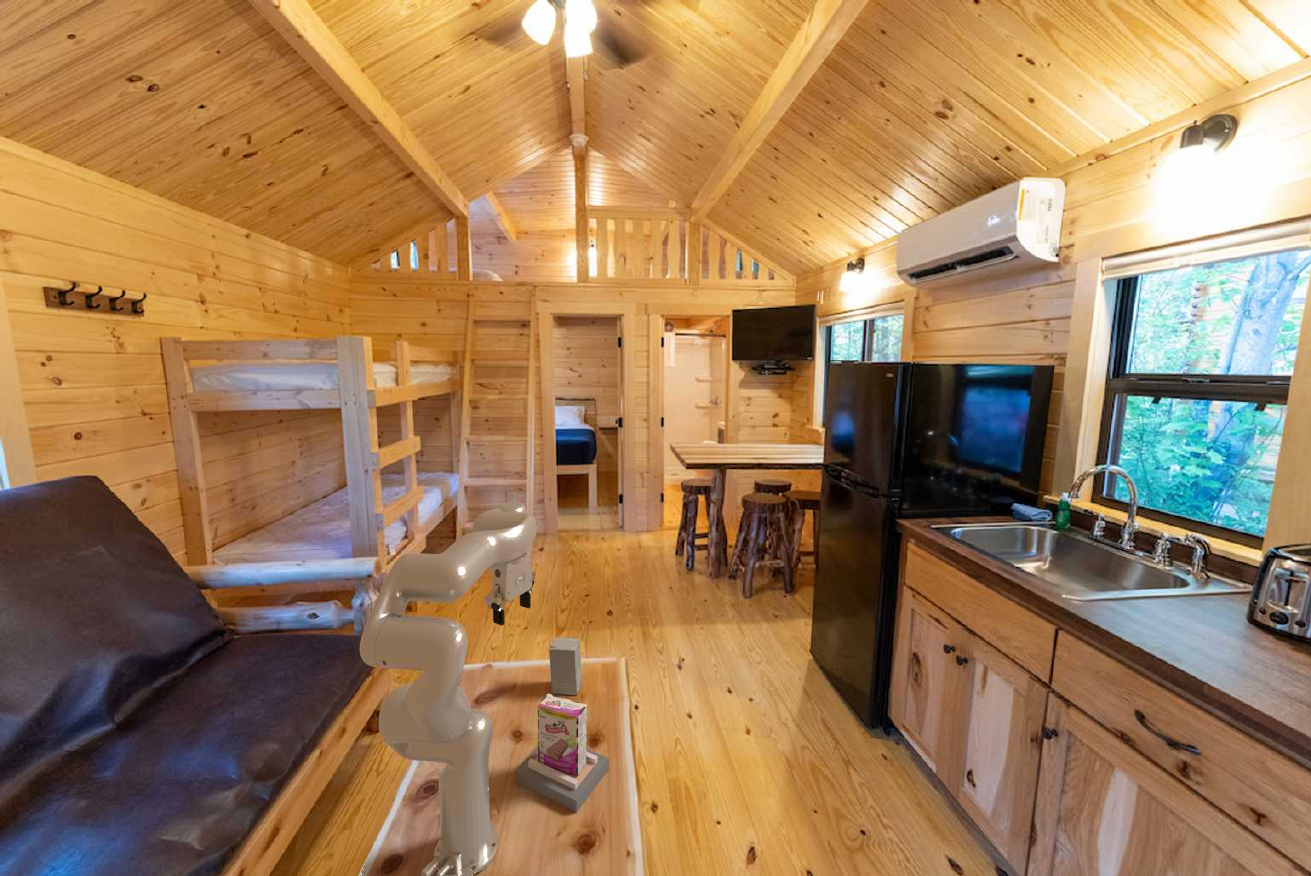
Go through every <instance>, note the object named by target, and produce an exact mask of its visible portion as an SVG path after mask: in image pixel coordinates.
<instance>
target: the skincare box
mask: <svg viewBox="0 0 1311 876" xmlns="http://www.w3.org/2000/svg"><path fill="white" fill-rule="evenodd" d="M580 640H581V638H576V637H575V638H572V637H555V638H554V639H553V641H552V643H551V645H550V647H549V648H548V651H549V665H550V666H549V667H550V684H551V686H550V687H551V695H571V696H577V695H578V693H579V691H580V687H581V685H582V682H583V681H582V680H583V677H582V659H581V657H582V656H581V655H582V654H581V641H580Z"/></svg>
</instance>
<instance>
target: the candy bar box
mask: <svg viewBox="0 0 1311 876" xmlns="http://www.w3.org/2000/svg"><path fill="white" fill-rule="evenodd" d="M587 722H588V704H586V703H582V702H578V701H576V700H572V699H567V698H565V697H561V696H557V695H556V694H552V693H551V694H550V693H547V694H546V695H545V697H544V698H543V699H541V701H540V702H539V703H538V705H537V748H538V762H540V763H542V764H544V765H546V766H548V767H551V768H553V769H555V770H558V771H561V772H565V773H568V774H571V775H574V776H577V777H578V776H579V774H580V772H581V770H582V769H583V768H584V766H585V764H586V761H587V749H588V748H587V744H588V743H587V742H588V741H587V740H588V738H587V737H588V736H587V734H588V731H587V730H588V727H587V726H588V723H587Z"/></svg>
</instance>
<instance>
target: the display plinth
mask: <svg viewBox="0 0 1311 876" xmlns="http://www.w3.org/2000/svg"><path fill="white" fill-rule="evenodd" d="M609 769H610V758H609V757H607V756H605V755H603V754H600V753H598V752H596V751H593V750H591V749H589V748H587V761H586V764H585V766H584V768H583V769H582V770H581V772H580V774H579V776H578V777H577V776H574V775H571V774H568V773H565V772H561V771H558V770H555V769H553V768H551V767H548V766H546V765H544V764H542V763H540V762H538V747H537V748H536V749H534V751H532V753H531V754H530V755H528V757H527V758H525V760H524V761H523V762H522V763H521V764H520V765H519V766H518V767H517V768H516V769H515V771H514V779H515V780H514V782H515V783H517V784H519V785H521V786H523V787H525V788H527V789H528V790H530V791H532V792H534V793H537V794H539V795H541V796H543V797H545V798H547V799H549V800H550V801H553V802H554V803H556V804H558V805H561V806H563V807H564V808H567V809H568V810H571V811H572V812H575V813H578V812H579V810H580V809H581V808H582V806H583V805H584V803H585V802H586V801H587V799H588V798H589V796H590V795H591V794H592V793H593V792H594V790H595V788H596V787H597V786H598V785H599V783H600V782H601V781H602V779H603V778H604V776H605V775H606V773H607V772H608V771H609Z"/></svg>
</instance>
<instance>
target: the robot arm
mask: <svg viewBox="0 0 1311 876" xmlns="http://www.w3.org/2000/svg"><path fill="white" fill-rule="evenodd" d="M471 531H472V532H469V533H466V534H463V535H462V536H460V537H459V538H458V539H456V541H454V543H452V544H451V545H450V546H448V548H447V549H445V550H444V551H442V552H441V553H437V554H436V553H421V552H420V553H419V552H417V553H416V552H411V553H410V552H407V553H404V554H403V555H401V556H399V557H398V559H397V560H396V561H395V562H394V563H393V565H392V567H391V568H390V569H389V571H388V572H387V575H386V577H385V579H384V581H383V583H382V585H381V587H380V590H379V592H378V595H377V597H376V600H375V602H374V605H373V607H372V610H371V611H370V614H369V617H368V619H367V621H366V624H365V625H364V629H363V631H362V635H361V638H360V642H359V643H360V644H359V654H360V658H361V660H362V662H364V663H365V664H366V665H368V666H369V667H374V668H378V669H390V670H392V669H393V670H409V671H423V672H422V673H421V674H419V676H418V677H417V678H416V679H415V680H414V681H413V682H412V683H411V684H410V683H409V684H401V685H399V686H398V687H396V688H394V689H393V690H391V692H390V693H389V694H388V695H387V696H386V697H385V698H384V701H383V702H382V705H381V707H380V710H379V713H378V732H379V735H380V737H381V739H382V741H383V742H384V743H386V745H387V746H388V747H390V749H391V750H393V751H394V752H395V753H396V754H398V755H399V756H400V757H401V758H403V759H406V760H410V761H417V762H430V763H439V764H446V765H445V767H444V769H443V770H442V772H441V773H440V777H439V779H438V799H439V802H438V803H439V805H438V806H439V820H440V823H439V825H440V838H439V840H438V841H437V843H436V846H435V848H434V851H433V859H432V860H431V861H430V862H429V863H427V865H426V866H425V867H424V868H423V869H422V870H421V872H420V876H433V875H434V874H435V876H471V875H473V874H476V873H477V872H479V871H481V870H482V871H483V870H485V868H487V867H488V866H489V865H490V863H491V862H492V861H493V859H494V857H495V855H496V854H497V851H498V848H499V833H498V831H497V828H496V827H495V825H493V823H491V819H490V818H491V817H490V816H491V815H490V814H491V813H490V810H491V809H490V783H489V781H490V776H489V775H490V772H489V757H490V747H491V741H492V735H493V721H492V718H491V716H490V715H489V714H488V713H487V712H485V711H483V710H481V709H478V708H472V706H471V703H470V701H469V699H468V697H467V695H466V694H465V693H464V691H463V689H462V688H461V687H460V685H459V683H460V681H461V678H462V674H463V670H464V666H465V663H466V657H467V651H468V644H469V638H468V633H467V631H466V629H465V627H464V626H463V625H462V624H461V623H460V622H458V621H456V620H453V619H450V618H446V617H440V616H424V615H423V616H422V615H405V612H406V609H407V606H408V603H409V602H411V601H412V602H427V603H428V602H429V603H431V602H432V603H450V602H454V601H458V600H459V599H461V598H462V597H463V596H465V595H467V593H468V592H469V590H470V589H472V587H473V586H474V585H475V584H476V582H477V581H478V580H479V579H480V578H481V577H482V576H483V575H484V574H485V572H486V571H487V570H489V569H493V571H492V583H491V584H492V585H491V587H492V589H490V591H489V593H488V594H486V596H485V597H484V601H485V603H486V604H487V607H489V609H492V622H493V623H494V624H496V625H499V626H504V625H505V622H506V621H505V620H506V619H505V609H503V608H504V606H505V604H506V602H507V603H508V602H511V601H513V600H514V599H517V597H519V607H522V608H526V609H528V610H529V609H530V608H531V604H532V603H531V602H532V599H531V598H532V597H531V594H532V593H533V586H534V584H535V580H536V576H537V573H536V572H535V571H532V564H531V559H530V554H529V552H528V549H529V548H530V547H531V546H532V544H533V542H534V541H535V538H536V536H537V532H538V524H537V520H536V518H535V517H534V516H533V515H532V514H530V513H527V508H526V506H525V505H524V504H523V503H522V502H519V501H507V502H506V501H505V502H501V503H499V504H497V505H496V507H495V508H492V509H490V510H486V511H484V512H482V513H480V514H479V515H478V516H477V517H476V518H475V520H473V524H472V527H471ZM499 600H500V602H499ZM498 602H499V604H498ZM486 866H487V867H486ZM436 870H437V871H438V872H437V871H436ZM482 871H481V872H482ZM435 872H436V873H435ZM479 873H480V872H479ZM476 875H477V874H476Z"/></svg>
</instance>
